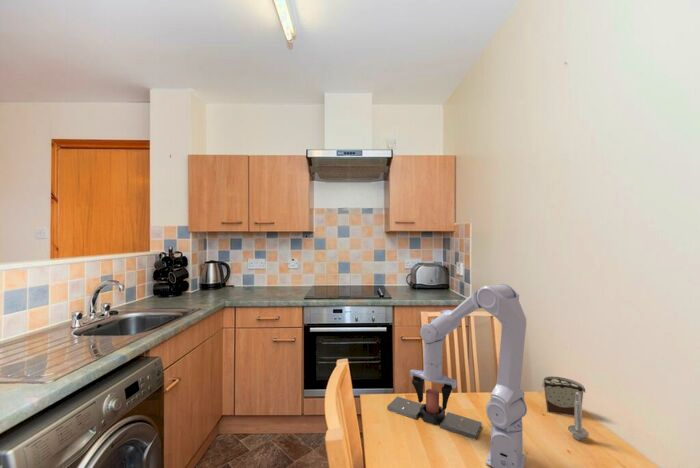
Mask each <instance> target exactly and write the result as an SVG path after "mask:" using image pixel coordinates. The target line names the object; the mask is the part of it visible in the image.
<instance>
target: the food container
mask: <svg viewBox="0 0 700 468" xmlns="http://www.w3.org/2000/svg"><path fill="white" fill-rule="evenodd" d="M541 387H542V388H544V397H545V398H544V399H545V406H546V411H547V413H550V414H557V415H563V416H571V417H575V416H574V415H575V414H574V413H575V412H574V411H575V410H574V409H575V408H574V407H575V405H574V404H575V403H574V402H575V401H574V400H575V393H576V392H579V393H580V395H581V401H582V402H581V403H582V404H581V405H582V406H583V399H584V394H585V393H586V388H585V387H584V385H583V384H582V383H581V382H578V381H575V380H572V379H570V378H566V377H560V376H545V377H544V378H543V380H542V384H541Z"/></svg>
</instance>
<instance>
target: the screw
mask: <svg viewBox="0 0 700 468" xmlns="http://www.w3.org/2000/svg"><path fill="white" fill-rule="evenodd" d="M574 401H575V402H574V403H575V404H574V405H575V407H574V408H575V409H574V410H575V411H574V412H575V413H574V414H575V415H574V416H573V417H574V421H573V422H574V424H573V425H569V426H568V427H567V430H568V432H569V433H571V434H572V437H573V439H575V440H577V441H582V442H584V441H585V438H587V437H589V436H590V433H589V431H588V430H587V429H585V428H583V400H582V401H581V395H580V393H579V392H576V393H575V400H574ZM581 402H582V403H581ZM581 404H582V405H581Z"/></svg>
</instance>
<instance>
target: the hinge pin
mask: <svg viewBox="0 0 700 468" xmlns="http://www.w3.org/2000/svg"><path fill="white" fill-rule="evenodd" d="M425 404H426V412H427V413H430V414H433V415H434V414H439V406H440V392H439V390H437V389H434V388H428V389H426V390H425Z"/></svg>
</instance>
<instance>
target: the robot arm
mask: <svg viewBox="0 0 700 468" xmlns="http://www.w3.org/2000/svg"><path fill="white" fill-rule="evenodd" d="M479 309H483V310H484V311H486V312H488V314H490V315H491V316H493V317H495V318H496V319H497V320H498V321H499V323H500V324H501V332H500V341H499V342H500V345H499V354H498V355H499V356H498V365H497V375H496V376H497V377H496V384H495V386H494V388H493V390H492V391H491V393H490V399H489V401H488V402H487V403H486V405H485V406H486V407H485V413H486V416H487V418H488V420H489V422H490V449H489V452H488V454H487V459H486V461H485V464H486V465H487V466H489V467H492V468H525V463H526V454H525V453H523V451H524V450H523V444H524V443H523V442H524V441H523V438H524V437H523V435H524V433H523V427H524V426H523V417H525V416H527V411H528V407H527V406H528V405H527V402H526V400H525V391H523V390H522V389H521V383H522V382H521V381H522V373H523V361H524V351H525V341H526V333H527V331H526V330H527V318H526V315H525V313H524V310H523V307H522V305H521V303H520V294H519V293H518V292H517V291H516V290H515V289H514V288H513V287H512V286H511V285H509V284H505V283H500V284H497V285H496V284H495V285H483V286H482V287H480V288H478V290H475V291H473V292H472V293H471V294H470V295H469V296H468V297H467V298H465V300H463V301H462V302H461V303H459V305H457V306H456V307H455V308H454V309H453V310H452V309H443V310H441V311H440V312H439V313H440V315H438V316H437V317H436V318H432V319H430V321H431V322H430V323H423V324H422V325H421V326H420V330H419V335H420V338H421V339H422V341H423V370H418V369H411V370H409V377H410V378H412V380H411V384H412V385H413V387H414V389H415V393H416V396H417V400H418V403H421V404H422V402H423V401H424V384H425V381H427V382H432V383H436V384H439V385H443V386H442V387H441V396H442V402H441V403H442V404H441V405H442V406H441V407H442V410H445V411H446V410H447V406H448V402H449V398H450V395H451V393H452V391H453V390H454V389H456V388H457V385H458V383H457V382H458V381H457V379H454V378H451V377H449V376H446V375H444V374H443V345H444V340H445V339H446V337H447V335H449V334H450V333H452V332H453V331H455V330H457V328H459V327H460V325H461V320H463V319H464V318H465V317H467V316H469V315H471V314H472V313H474V312H475V311H476V310H479Z"/></svg>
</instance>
